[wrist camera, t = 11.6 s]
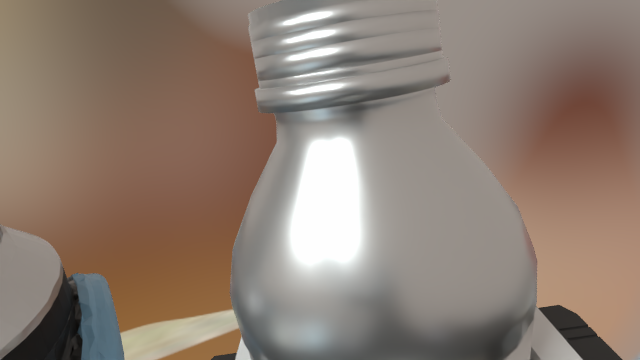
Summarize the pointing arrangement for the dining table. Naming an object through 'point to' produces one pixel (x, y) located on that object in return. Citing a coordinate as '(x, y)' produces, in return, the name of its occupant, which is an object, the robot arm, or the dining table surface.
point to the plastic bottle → (373, 200)
